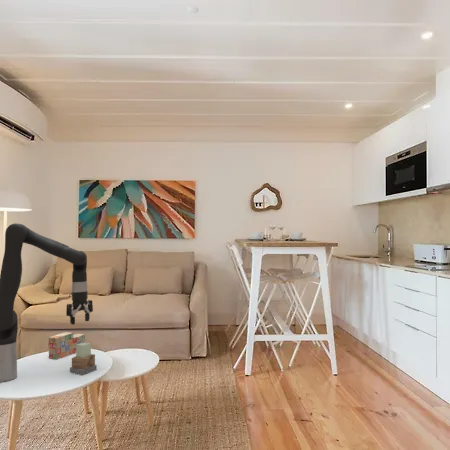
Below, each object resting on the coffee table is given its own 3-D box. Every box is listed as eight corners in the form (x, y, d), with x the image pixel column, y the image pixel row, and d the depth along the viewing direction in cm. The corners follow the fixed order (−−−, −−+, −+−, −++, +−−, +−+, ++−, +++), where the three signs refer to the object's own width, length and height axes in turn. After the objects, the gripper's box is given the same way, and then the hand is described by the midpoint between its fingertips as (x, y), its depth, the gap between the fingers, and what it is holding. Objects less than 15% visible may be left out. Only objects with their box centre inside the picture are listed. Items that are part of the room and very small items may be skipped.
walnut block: (86, 369, 203) (85, 358, 203) (71, 368, 205) (71, 358, 205) (95, 364, 211) (94, 354, 211) (81, 363, 213) (80, 353, 213)
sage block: (82, 357, 205) (82, 345, 205) (76, 356, 207) (76, 344, 208) (91, 355, 209) (90, 343, 209) (84, 354, 212) (84, 342, 212)
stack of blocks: (77, 348, 251) (77, 328, 251) (85, 349, 248) (85, 329, 248) (48, 358, 231) (48, 336, 232) (56, 360, 229) (56, 337, 229)
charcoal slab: (82, 376, 201) (81, 370, 202) (70, 373, 206) (69, 367, 206) (96, 371, 209) (96, 365, 209) (84, 368, 214) (84, 362, 214)
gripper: (86, 288, 217) (86, 319, 217) (62, 291, 205) (63, 324, 205) (95, 289, 213) (96, 320, 213) (72, 292, 201) (72, 326, 201)
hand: (80, 322), depth 209 cm, fingers open, 8 cm apart
